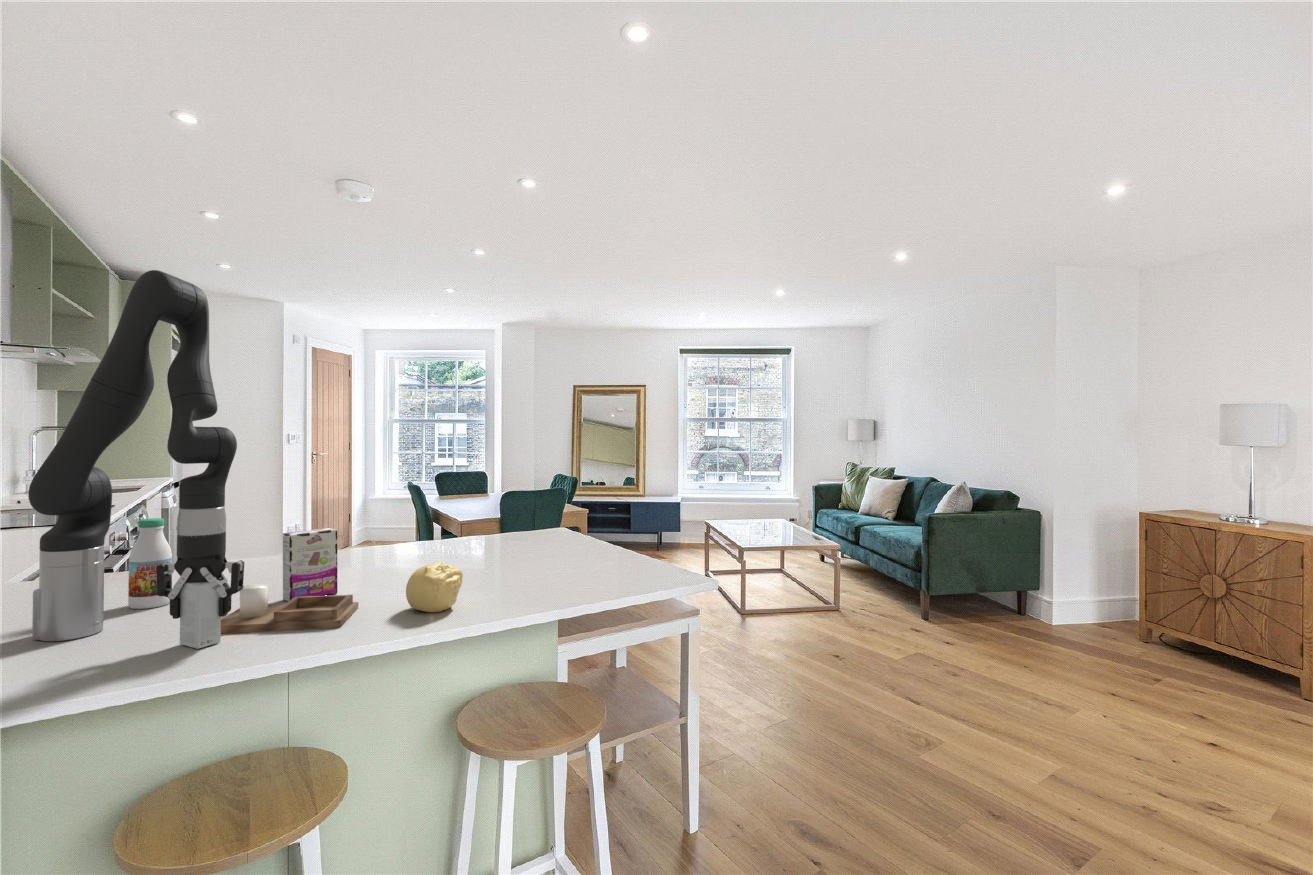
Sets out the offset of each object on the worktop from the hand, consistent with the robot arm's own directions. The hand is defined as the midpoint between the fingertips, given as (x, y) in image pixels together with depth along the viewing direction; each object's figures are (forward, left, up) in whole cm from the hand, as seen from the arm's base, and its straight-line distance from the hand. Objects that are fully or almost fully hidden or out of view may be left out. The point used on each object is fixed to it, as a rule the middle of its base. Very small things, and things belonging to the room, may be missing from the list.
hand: (200, 616), depth 115 cm
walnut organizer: (+11, +13, -5) cm, 18 cm away
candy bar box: (+9, +32, -6) cm, 34 cm away
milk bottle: (-24, +30, -5) cm, 39 cm away
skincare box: (0, 0, -5) cm, 5 cm away
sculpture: (+40, +17, -6) cm, 44 cm away
